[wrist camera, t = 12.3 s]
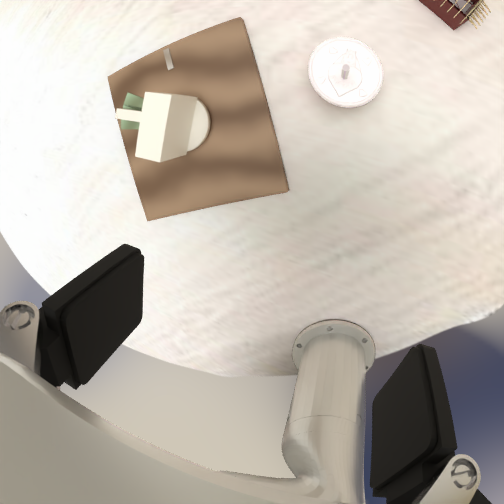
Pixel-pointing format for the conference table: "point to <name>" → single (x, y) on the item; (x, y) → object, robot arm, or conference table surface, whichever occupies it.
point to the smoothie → (345, 72)
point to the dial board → (221, 127)
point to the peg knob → (168, 125)
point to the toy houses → (454, 11)
